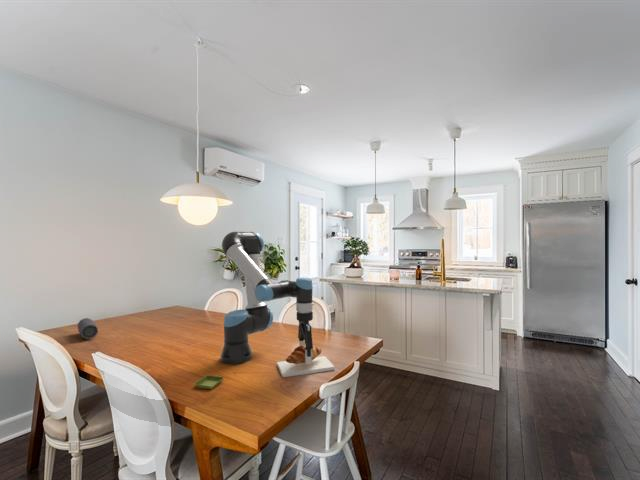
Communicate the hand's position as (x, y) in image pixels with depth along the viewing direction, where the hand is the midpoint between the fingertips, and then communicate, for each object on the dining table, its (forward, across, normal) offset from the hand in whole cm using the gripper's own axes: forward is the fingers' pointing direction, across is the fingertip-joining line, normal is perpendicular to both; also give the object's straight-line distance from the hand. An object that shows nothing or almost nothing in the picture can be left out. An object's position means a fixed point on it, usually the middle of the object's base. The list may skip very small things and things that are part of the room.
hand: (305, 358), depth 147 cm
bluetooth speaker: (+4, +91, +118) cm, 149 cm away
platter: (+4, 0, 0) cm, 4 cm away
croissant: (+1, 0, 0) cm, 1 cm away
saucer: (+5, -4, +42) cm, 43 cm away
